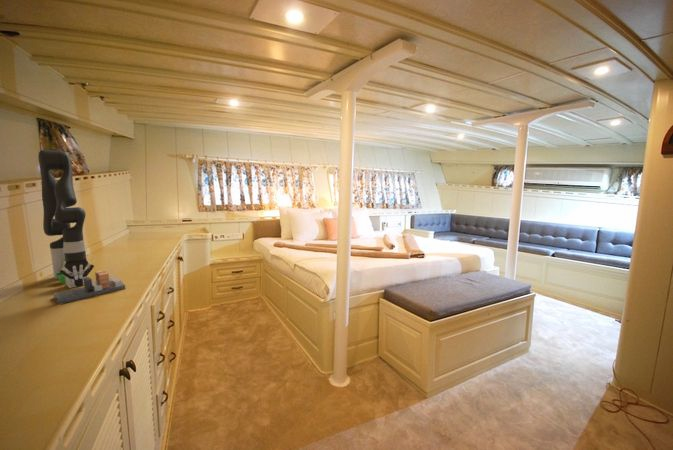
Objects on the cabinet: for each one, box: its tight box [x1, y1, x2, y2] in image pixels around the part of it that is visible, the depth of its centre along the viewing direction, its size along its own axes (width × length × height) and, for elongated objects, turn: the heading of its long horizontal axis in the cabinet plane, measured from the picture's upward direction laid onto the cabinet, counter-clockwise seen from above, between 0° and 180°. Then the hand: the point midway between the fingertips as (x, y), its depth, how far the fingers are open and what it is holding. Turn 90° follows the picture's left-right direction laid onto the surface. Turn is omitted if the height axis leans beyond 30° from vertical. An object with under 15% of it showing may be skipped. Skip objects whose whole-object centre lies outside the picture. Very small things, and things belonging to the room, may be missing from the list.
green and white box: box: [56, 261, 66, 285], centre depth 163 cm, size 11×9×11 cm
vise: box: [52, 275, 126, 305], centre depth 146 cm, size 12×25×4 cm, turn 141°
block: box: [94, 269, 110, 289], centre depth 149 cm, size 8×4×7 cm, turn 51°
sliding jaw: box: [83, 276, 103, 291], centre depth 146 cm, size 12×5×5 cm, turn 51°
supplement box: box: [63, 262, 88, 289], centre depth 156 cm, size 7×7×13 cm
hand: (79, 286), depth 142 cm, fingers closed
